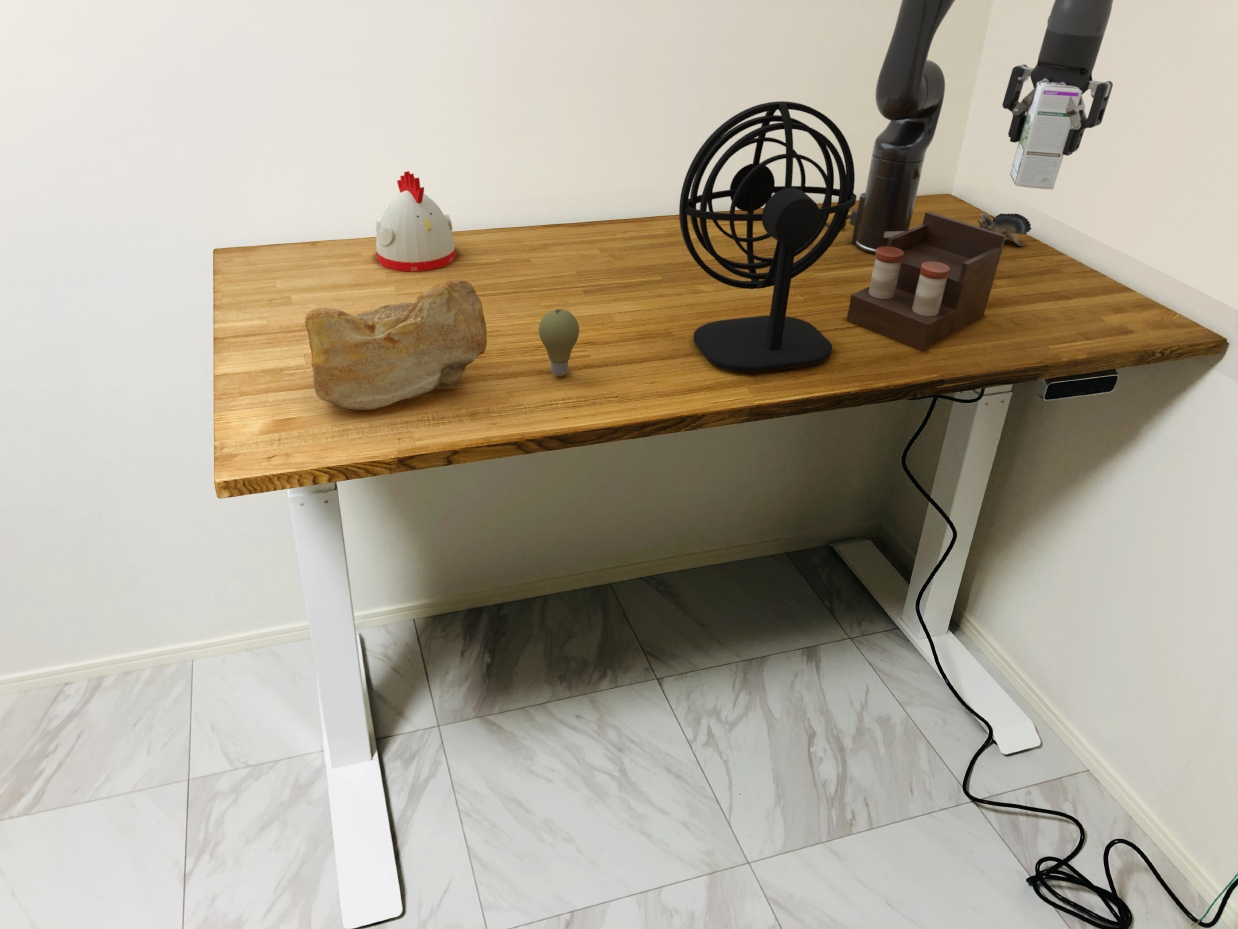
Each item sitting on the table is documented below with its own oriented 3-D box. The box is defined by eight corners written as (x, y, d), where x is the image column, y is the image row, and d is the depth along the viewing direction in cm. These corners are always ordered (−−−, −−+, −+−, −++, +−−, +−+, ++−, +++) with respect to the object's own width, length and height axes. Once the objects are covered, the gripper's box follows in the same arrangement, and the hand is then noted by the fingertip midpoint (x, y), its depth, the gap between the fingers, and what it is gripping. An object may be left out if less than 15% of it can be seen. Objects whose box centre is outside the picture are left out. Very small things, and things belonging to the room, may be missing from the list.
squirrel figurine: (983, 245, 177) (1033, 240, 176) (980, 208, 177) (1030, 202, 176) (974, 253, 185) (1022, 248, 183) (972, 218, 185) (1020, 212, 183)
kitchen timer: (400, 277, 159) (390, 190, 150) (363, 252, 168) (353, 168, 159) (470, 260, 166) (465, 176, 158) (431, 236, 175) (425, 156, 167)
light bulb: (539, 366, 134) (538, 302, 129) (577, 365, 135) (578, 302, 129) (540, 385, 130) (538, 320, 124) (579, 384, 130) (580, 319, 125)
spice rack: (922, 351, 142) (943, 264, 135) (846, 320, 151) (861, 237, 143) (983, 316, 154) (1006, 235, 146) (909, 289, 162) (927, 211, 154)
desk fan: (813, 312, 153) (850, 88, 133) (867, 361, 139) (917, 119, 119) (658, 329, 146) (672, 95, 126) (698, 383, 132) (722, 129, 112)
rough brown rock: (471, 349, 140) (460, 252, 132) (498, 394, 126) (487, 288, 119) (312, 375, 133) (290, 275, 126) (322, 426, 120) (298, 316, 112)
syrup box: (1054, 190, 138) (1086, 87, 130) (1013, 186, 139) (1042, 84, 131) (1047, 178, 143) (1078, 78, 134) (1007, 174, 144) (1035, 75, 135)
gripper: (1138, 34, 127) (1098, 155, 136) (1038, 17, 135) (1007, 132, 144) (1116, 39, 122) (1076, 164, 132) (1014, 22, 130) (983, 140, 140)
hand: (1040, 147), depth 138 cm, fingers closed on syrup box, 7 cm apart
